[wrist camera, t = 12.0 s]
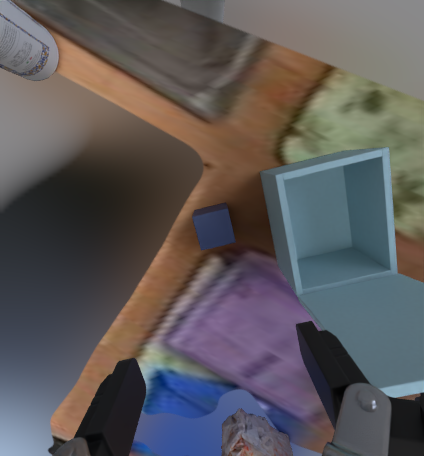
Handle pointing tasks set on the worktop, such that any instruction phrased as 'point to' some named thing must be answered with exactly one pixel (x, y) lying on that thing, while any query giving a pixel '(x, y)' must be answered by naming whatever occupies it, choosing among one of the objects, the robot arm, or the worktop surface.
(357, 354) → the lid
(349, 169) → the light blue storage bin
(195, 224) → the block
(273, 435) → the food item
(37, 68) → the bath foam
